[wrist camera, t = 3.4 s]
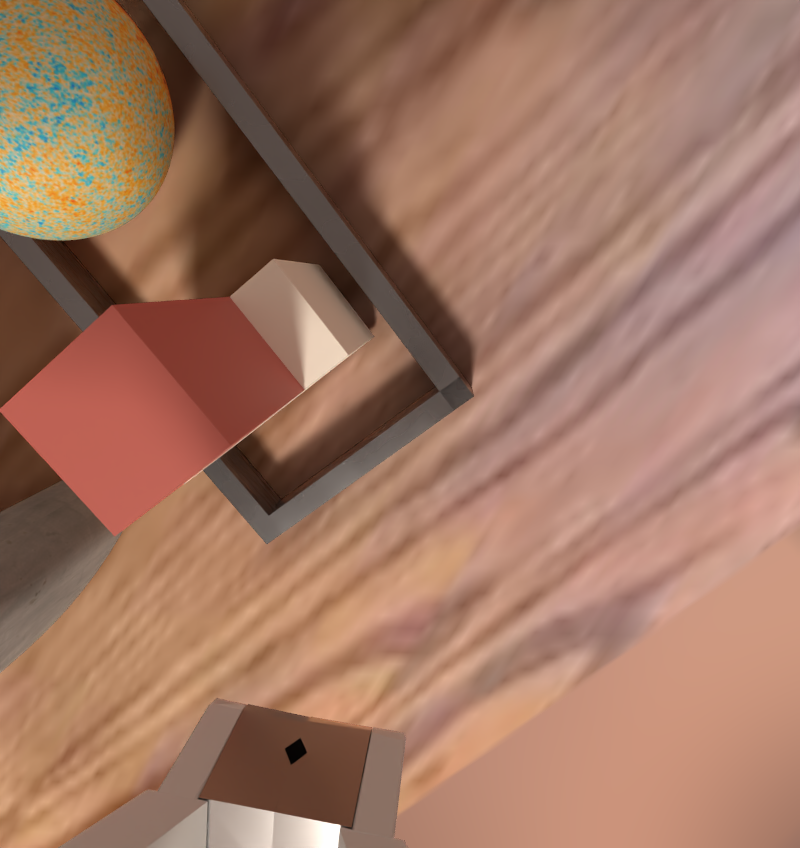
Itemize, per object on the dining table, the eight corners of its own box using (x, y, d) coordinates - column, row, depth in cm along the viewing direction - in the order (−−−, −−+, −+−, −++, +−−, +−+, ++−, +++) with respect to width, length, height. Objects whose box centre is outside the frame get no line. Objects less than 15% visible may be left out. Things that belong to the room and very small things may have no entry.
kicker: (247, 435, 20) (62, 577, 10) (193, 371, 20) (-53, 457, 10) (374, 336, 19) (294, 394, 9) (319, 264, 18) (175, 246, 9)
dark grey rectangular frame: (279, 526, 21) (266, 544, 20) (-39, 154, 19) (-80, 144, 17) (472, 387, 19) (473, 396, 18) (144, -51, 17) (116, -83, 15)
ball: (255, 171, 18) (138, 104, 11) (100, 286, 19) (-85, 288, 13) (125, -35, 17) (-91, -246, 10) (-29, 104, 18) (-309, 0, 12)
